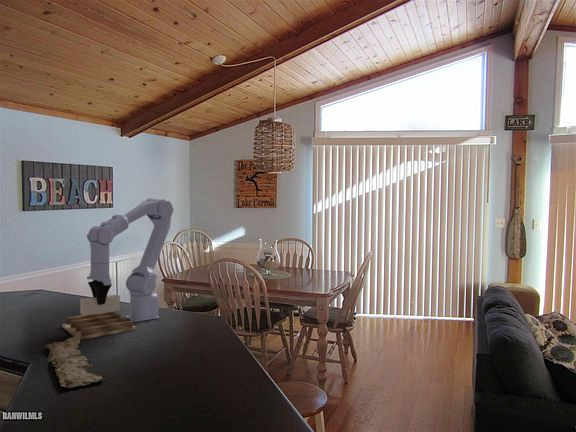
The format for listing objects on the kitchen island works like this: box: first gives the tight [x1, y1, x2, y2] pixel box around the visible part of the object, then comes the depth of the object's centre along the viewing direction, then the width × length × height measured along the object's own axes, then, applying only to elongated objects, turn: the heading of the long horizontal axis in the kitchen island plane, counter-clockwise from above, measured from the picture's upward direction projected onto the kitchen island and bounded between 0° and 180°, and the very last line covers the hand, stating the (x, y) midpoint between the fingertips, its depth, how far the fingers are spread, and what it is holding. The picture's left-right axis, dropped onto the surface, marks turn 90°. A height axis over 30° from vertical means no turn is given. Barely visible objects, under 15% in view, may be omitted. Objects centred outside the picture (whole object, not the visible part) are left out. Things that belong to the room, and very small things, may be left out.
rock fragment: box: [44, 335, 106, 389], centre depth 120 cm, size 34×10×3 cm, turn 36°
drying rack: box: [61, 311, 137, 341], centre depth 152 cm, size 18×17×3 cm
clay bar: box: [79, 294, 121, 316], centre depth 152 cm, size 12×2×5 cm, turn 132°
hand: (99, 303), depth 152 cm, fingers closed on clay bar, 2 cm apart
